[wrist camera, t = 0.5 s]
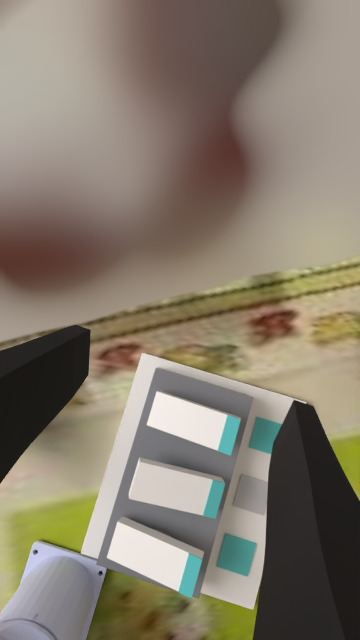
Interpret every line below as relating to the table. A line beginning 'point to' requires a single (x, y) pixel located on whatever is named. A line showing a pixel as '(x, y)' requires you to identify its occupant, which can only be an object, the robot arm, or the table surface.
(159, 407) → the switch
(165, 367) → the switch board
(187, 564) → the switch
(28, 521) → the table surface
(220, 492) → the middle switch
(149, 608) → the table surface
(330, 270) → the table surface
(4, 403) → the robot arm
